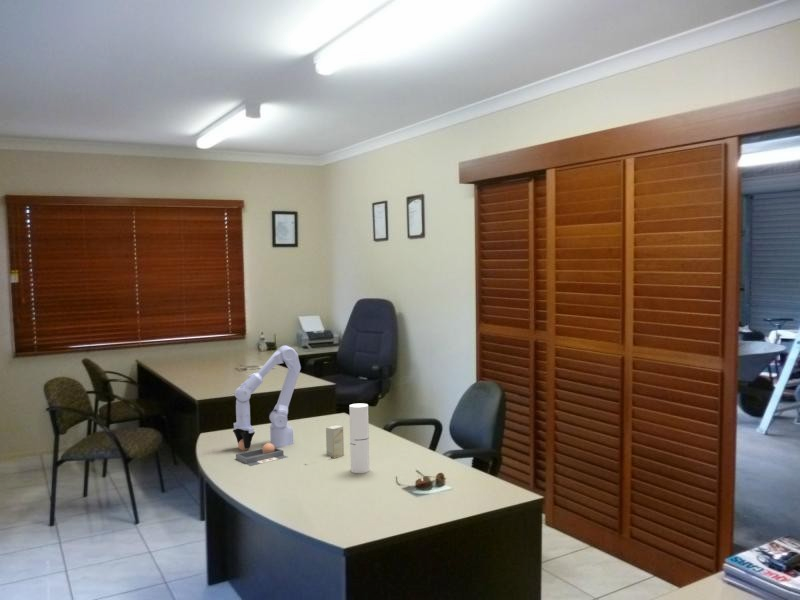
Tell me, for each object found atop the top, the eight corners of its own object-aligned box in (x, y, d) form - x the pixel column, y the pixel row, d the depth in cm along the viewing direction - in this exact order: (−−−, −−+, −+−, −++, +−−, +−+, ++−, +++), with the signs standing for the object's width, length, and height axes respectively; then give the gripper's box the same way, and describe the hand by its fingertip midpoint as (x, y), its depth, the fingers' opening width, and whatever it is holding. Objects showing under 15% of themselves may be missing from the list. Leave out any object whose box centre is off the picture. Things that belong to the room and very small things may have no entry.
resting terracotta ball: (271, 452, 266) (270, 440, 265) (277, 455, 262) (276, 443, 262) (260, 455, 262) (259, 443, 262) (266, 457, 259) (265, 445, 258)
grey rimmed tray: (272, 452, 269) (272, 445, 269) (288, 459, 259) (288, 452, 259) (235, 461, 258) (234, 454, 258) (250, 468, 248) (250, 461, 248)
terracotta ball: (246, 448, 275) (246, 436, 275) (252, 450, 272) (252, 438, 271) (236, 450, 272) (235, 438, 272) (241, 452, 268) (241, 441, 268)
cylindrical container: (366, 473, 239) (365, 407, 238) (348, 472, 241) (347, 407, 240) (371, 467, 246) (370, 403, 245) (353, 466, 248) (352, 403, 247)
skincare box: (334, 458, 259) (333, 429, 258) (326, 457, 262) (325, 427, 261) (344, 455, 264) (343, 425, 263) (336, 453, 267) (335, 424, 266)
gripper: (226, 414, 274) (227, 445, 275) (242, 419, 263) (243, 452, 264) (241, 411, 279) (242, 442, 279) (257, 416, 268) (259, 448, 268)
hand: (244, 446), depth 272 cm, fingers closed on terracotta ball, 5 cm apart
